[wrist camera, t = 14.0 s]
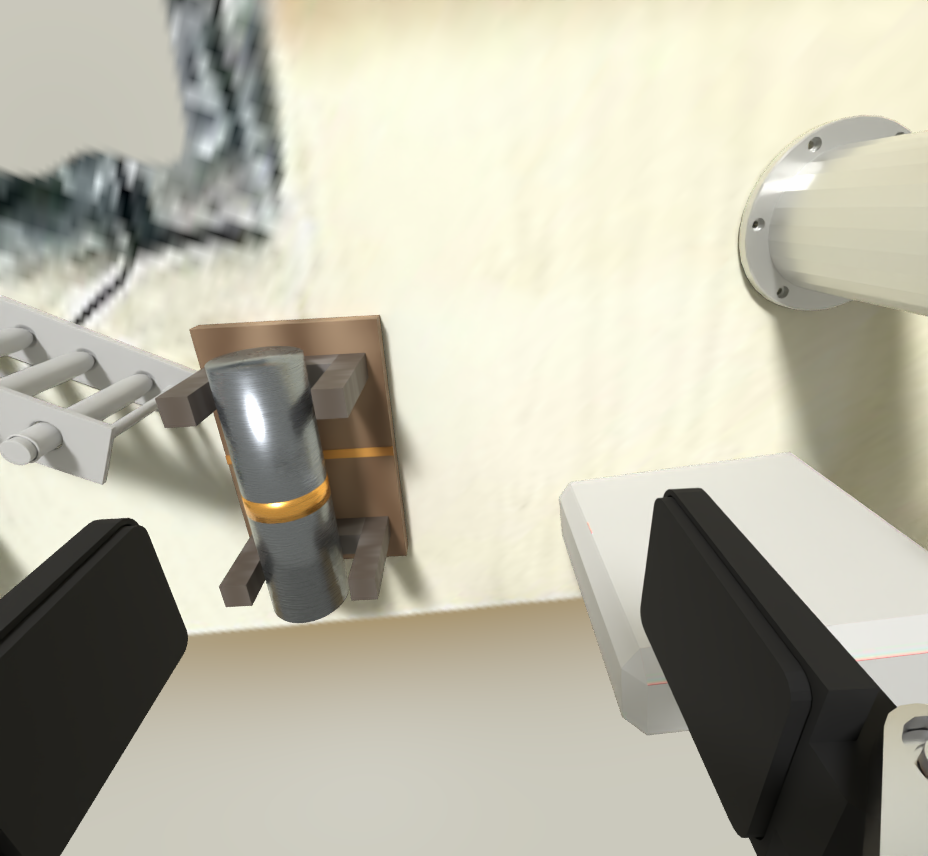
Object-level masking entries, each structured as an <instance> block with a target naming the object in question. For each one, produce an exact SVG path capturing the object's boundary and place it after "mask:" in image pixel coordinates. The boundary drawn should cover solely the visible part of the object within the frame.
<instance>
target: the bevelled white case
mask: <svg viewBox="0 0 928 856" xmlns="http://www.w3.org/2000/svg"><path fill="white" fill-rule="evenodd" d="M682 488H702V489H703V490H704V491H705V492H706V493H707V494H708V495H709V496H710V497H711V498H712V499H713V501H714V502H715V503H716V504H717V505H718V506H719V507H720V508H721V510H722V511H723V512H724V513H725V514H726V515H727V516H728V517H729V519H730V520H731V521H732V522H733V523H734V524H735V525H736V526H737V528H738V529H739V530H740V531H741V532H742V533H743V534H744V535H745V537H746V538H747V539H748V540H749V541H750V542H751V543H752V544H753V546H754V547H755V548H756V549H757V550H758V551H759V552H760V553H761V555H762V556H763V557H764V558H765V559H766V560H767V561H768V562H769V564H770V565H771V566H772V567H773V568H774V569H775V570H776V571H777V572H778V574H779V575H780V576H781V577H782V578H783V579H784V580H785V581H786V583H787V584H788V585H789V586H790V587H791V588H792V589H793V590H794V592H795V593H796V594H797V595H798V596H799V597H800V598H801V599H802V601H803V602H804V603H805V604H806V605H807V606H808V607H809V608H810V610H811V611H812V612H813V613H814V614H815V615H816V616H817V617H818V618H819V620H820V621H821V622H822V623H823V624H824V625H825V626H826V627H827V629H828V630H829V631H830V632H831V633H832V634H833V635H834V636H835V638H836V639H837V640H838V641H839V642H840V643H841V644H842V645H843V647H844V648H845V649H846V650H847V651H848V652H849V653H850V654H851V656H852V657H853V658H854V659H855V660H856V661H857V662H858V663H859V665H860V666H861V667H862V668H863V669H864V670H865V671H866V672H867V674H868V675H869V676H870V677H871V678H872V679H873V680H874V681H875V683H876V684H877V685H878V686H879V687H880V688H881V689H882V690H883V692H884V693H885V694H886V695H887V696H888V697H889V698H890V699H891V701H892V702H893V703H894V704H895V705H896V706H897V707H898V706H900V705H907V704H914V703H921V704H928V551H927V550H926V549H924V548H923V547H921V546H920V545H919V544H917V543H916V542H914V541H913V540H912V539H910V538H909V537H908V536H906V535H905V534H903V533H902V532H901V531H899V530H898V529H896V528H895V527H894V526H892V525H891V524H890V523H888V522H887V521H885V520H884V519H883V518H881V517H880V516H878V515H877V514H876V513H874V512H873V511H871V510H870V509H869V508H867V507H866V506H865V505H863V504H862V503H860V502H859V501H858V500H856V499H855V498H853V497H852V496H851V495H849V494H848V493H847V492H845V491H844V490H842V489H841V488H840V487H838V486H837V485H835V484H834V483H833V482H831V481H830V480H829V479H827V478H826V477H824V476H823V475H822V474H820V473H819V472H817V471H816V470H815V469H813V468H812V467H811V466H809V465H808V464H806V463H805V462H804V461H802V460H801V459H799V458H798V457H797V456H795V455H794V454H792V453H791V452H785V453H778V454H771V455H763V456H756V457H749V458H742V459H734V460H727V461H720V462H712V463H705V464H698V465H691V466H683V467H676V468H669V469H661V470H654V471H647V472H640V473H632V474H625V475H618V476H610V477H603V478H596V479H589V480H581V481H574V482H570V483H569V484H568V485H567V487H566V488H565V489H564V491H563V492H562V494H561V495H560V496H559V501H560V514H561V526H562V536H563V539H564V542H565V545H566V548H567V551H568V554H569V557H570V560H571V563H572V566H573V569H574V572H575V575H576V578H577V581H578V584H579V587H580V590H581V593H582V596H583V599H584V602H585V605H586V608H587V611H588V615H589V618H590V621H591V624H592V626H593V630H594V633H595V636H596V639H597V642H598V645H599V648H600V651H601V654H602V657H603V660H604V663H605V666H606V669H607V672H608V675H609V678H610V681H611V684H612V687H613V690H614V693H615V697H616V700H617V703H618V706H619V709H620V712H621V715H622V717H623V718H624V719H626V720H627V721H629V722H630V723H631V724H633V725H634V726H635V727H637V728H638V729H639V730H641V731H642V732H643V733H645V734H646V735H654V734H663V733H672V732H680V731H689V729H688V727H687V725H686V723H685V720H684V718H683V716H682V714H681V711H680V709H679V707H678V705H677V703H676V700H675V698H674V696H673V694H672V691H671V689H670V687H669V685H668V682H667V680H666V678H665V676H664V674H663V671H662V669H661V667H660V665H659V662H658V660H657V658H656V656H655V654H654V651H653V649H652V647H651V645H650V642H649V640H648V638H647V636H646V634H645V631H644V629H643V626H642V622H641V617H640V606H641V598H642V590H643V583H644V575H645V568H646V560H647V553H648V545H649V538H650V530H651V523H652V515H653V507H654V502H655V500H656V499H657V498H663V496H664V493H665V492H666V491H667V490H668V489H682Z"/></svg>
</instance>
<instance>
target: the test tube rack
mask: <svg viewBox="0 0 928 856" xmlns="http://www.w3.org/2000/svg"><path fill="white" fill-rule="evenodd" d="M6 355H7V356H10V357H12V358H15V359H18V360H20V361H23V362H26V363H29V364H31V365H34V366H32V367H29V368H27V369H24V370H21V371H18V372H16V373H13V374H10V375H8V376H5V377H2V378H0V453H1V455H2V456H3V457H4V458H5V459H6V460H7V461H9V462H11V463H13V464H16V465H25V464H28V463H33V462H36V463H39V464H42V465H45V466H48V467H51V468H54V469H57V470H60V471H63V472H66V473H69V474H72V475H75V476H78V477H81V478H84V479H87V480H90V481H93V482H96V483H99V484H104V483H105V482H106V480H107V474H108V468H109V463H110V457H111V451H112V446H113V440H114V438H115V437H116V436H118V435H119V434H121V433H122V432H124V431H125V430H127V429H128V428H130V427H131V426H133V425H134V424H136V423H137V422H139V421H140V420H142V419H143V418H145V417H146V416H148V415H149V414H151V413H152V412H154V411H155V410H157V411H159V409H158V406H157V403H156V400H155V398H156V397H158V396H159V395H161V394H162V393H164V392H166V391H167V390H169V389H170V388H172V387H174V386H175V385H177V384H178V383H180V382H182V381H183V380H185V379H186V378H188V377H190V376H191V375H193V374H194V373H196V372H198V371H196V370H194V369H191V368H188V367H186V366H183V365H181V364H178V363H176V362H173V361H170V360H168V359H165V358H163V357H160V356H157V355H155V354H152V353H150V352H147V351H144V350H142V349H139V348H137V347H134V346H132V345H129V344H126V343H124V342H121V341H119V340H116V339H114V338H111V337H108V336H106V335H103V334H101V333H98V332H96V331H93V330H90V329H88V328H85V327H83V326H80V325H77V324H75V323H72V322H70V321H67V320H65V319H62V318H59V317H57V316H54V315H52V314H49V313H47V312H44V311H41V310H39V309H36V308H34V307H31V306H28V305H26V304H23V303H21V302H18V301H16V300H13V299H10V298H8V297H5V296H3V295H0V357H3V356H6ZM70 379H72V380H75V381H78V382H80V383H83V384H86V385H89V386H91V387H94V388H97V389H99V390H101V391H99V392H97V393H95V394H93V395H91V396H89V397H87V398H85V399H83V400H81V401H80V402H78V403H76V404H74V405H72V406H70V407H68V408H63V407H60V406H57V405H54V404H52V403H49V402H46V401H43V400H40V399H37V398H35V397H32V396H34V395H36V394H39V393H41V392H43V391H45V390H48V389H50V388H52V387H55V386H57V385H59V384H61V383H64V382H66V381H68V380H70ZM132 402H135V403H138V404H140V405H142V406H140V407H138V408H137V409H135V410H134V411H132V412H130V413H129V414H127V415H126V416H124V417H122V418H121V419H119V420H118V421H116V422H114V423H113V424H111V425H110V424H108V423H105V422H102V420H104V419H106V418H107V417H109V416H111V415H112V414H114V413H116V412H117V411H119V410H121V409H122V408H124V407H126V406H127V405H129V404H131V403H132ZM39 421H40V422H39ZM36 422H38V423H36ZM35 423H36V424H35ZM60 445H62V446H60ZM59 446H60V447H59ZM57 447H59V448H57Z"/></svg>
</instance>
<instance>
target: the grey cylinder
mask: <svg viewBox="0 0 928 856" xmlns="http://www.w3.org/2000/svg"><path fill="white" fill-rule="evenodd" d="M204 367H205V370H206V374H207V377H208V381H209V384H210V388H211V391H212V395H213V398H214V402H215V405H216V409H217V412H218V416H219V419H220V423H221V426H222V430H223V433H224V437H225V440H226V444H227V447H228V451H229V454H230V458H231V461H232V465H233V468H234V472H235V475H236V479H237V482H238V486H239V489H240V494H241V497H242V501H243V504H244V508H245V511H246V514H247V517H248V521H249V524H250V528H251V531H252V534H253V538H254V541H255V545H256V548H257V552H258V555H259V559H260V562H261V566H262V569H263V573H264V576H265V580H266V583H267V587H268V590H269V594H270V597H271V601H272V604H273V608H274V611H275V613H276V614H277V616H278V617H280V618H281V619H283V620H285V621H288V622H292V623H306V622H311V621H315V620H318V619H320V618H323V617H325V616H327V615H329V614H330V613H332V612H333V611H335V610H336V609H337V608H338V607H339V606H340V605H341V604H342V603H343V602H344V600H345V599H346V597H347V595H348V591H349V584H348V578H347V573H346V568H345V563H344V558H343V553H342V547H341V542H340V537H339V532H338V527H337V522H336V517H335V512H334V506H333V501H332V496H331V490H330V485H329V479H328V474H327V470H326V465H325V460H324V455H323V450H322V445H321V440H320V435H319V430H318V425H317V420H316V416H315V411H314V405H313V400H312V395H311V389H310V384H309V378H308V373H307V368H306V363H305V358H304V353H303V350H301V349H300V348H296V347H290V346H268V347H258V348H251V349H245V350H240V351H236V352H231V353H228V354H224V355H221V356H219V357H216V358H214V359H212V360H210V361H208V362H207V363H206V364H205V366H204Z"/></svg>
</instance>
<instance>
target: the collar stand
mask: <svg viewBox="0 0 928 856" xmlns="http://www.w3.org/2000/svg"><path fill="white" fill-rule="evenodd" d="M189 330H190V334H191V337H192V341H193V344H194V348H195V351H196V354H197V358H198V361H199V365H200V368H201V370H199V371H198V372H196V373H194V374H193V375H191V376H190V377H188V378H186V379H185V380H183V381H182V382H180V383H178V384H177V385H175V386H174V387H172V388H170V389H169V390H167V391H166V392H164V393H162V394H161V395H159V396H158V397H156V398H155V400H156V403H157V406H158V409H159V412H160V415H161V418H162V421H163V424H164V427H165V428H171V427H190V426H197V425H198V424H200V423H201V422H202V421H203V420H204V419H205V418H207V417H208V416H209V415H210V414H211V413H214V416H215V420H216V423H217V427H218V430H219V434H220V437H221V441H222V444H223V447H224V451H225V454H226V456H225V457H226V460H227V463H228V465H229V468H230V471H231V475H232V478H233V482H234V485H235V489H236V492H237V496H238V499H239V502H240V506H241V509H242V513H243V516H244V520H245V523H246V527H247V530H248V533H249V537H250V538H249V540H248V541H247V543H246V544H245V546H244V548H243V549H242V551H241V552H240V554H239V556H238V557H237V559H236V560H235V562H234V564H233V565H232V567H231V568H230V570H229V572H228V573H227V575H226V576H225V578H224V580H223V581H222V583H221V584H220V586H219V588H220V591H221V594H222V597H223V600H224V603H225V606H226V607H236V606H252V605H253V603H254V601H255V599H256V597H257V595H258V593H259V591H260V589H261V587H262V585H263V583H264V581H265V576H264V573H263V569H262V566H261V562H260V559H259V555H258V552H257V548H256V545H255V541H254V538H253V534H252V531H251V528H250V524H249V521H248V517H247V514H246V511H245V508H244V504H243V501H242V497H241V494H240V489H239V486H238V482H237V479H236V475H235V472H234V468H233V465H232V461H231V458H230V454H229V451H228V447H227V444H226V440H225V437H224V433H223V430H222V426H221V423H220V419H219V416H218V412H217V409H216V405H215V402H214V398H213V395H212V391H211V388H210V384H209V381H208V377H207V374H206V370H205V367H204V366H205V364H206V363H207V362H208V361H210V360H212V359H214V358H216V357H219V356H221V355H224V354H228V353H231V352H236V351H240V350H245V349H251V348H258V347H268V346H290V347H296V348H300V349H301V350H303V353H304V358H305V363H306V368H307V373H308V378H309V384H310V389H311V395H312V400H313V405H314V411H315V416H316V420H317V425H318V430H319V435H320V440H321V445H322V450H323V455H324V460H325V465H326V470H327V474H328V479H329V485H330V490H331V496H332V501H333V506H334V512H335V517H336V522H337V527H338V532H339V537H340V542H341V547H342V553H343V558H344V559H351V558H354V560H353V563H352V567H351V570H350V574H349V577H348V584H349V590H350V595H351V600H370V599H378V596H379V591H380V586H381V581H382V576H383V571H384V566H385V561H386V557H389V556H407V550H408V541H407V532H406V524H405V516H404V508H403V500H402V492H401V484H400V476H399V468H398V460H397V452H396V444H395V436H394V428H393V419H392V411H391V403H390V395H389V387H388V379H387V371H386V363H385V355H384V347H383V339H382V331H381V323H380V315H371V316H353V317H335V318H317V319H299V320H281V321H263V322H245V323H227V324H210V325H198V326H196V327H194V328H191V329H189Z"/></svg>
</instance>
